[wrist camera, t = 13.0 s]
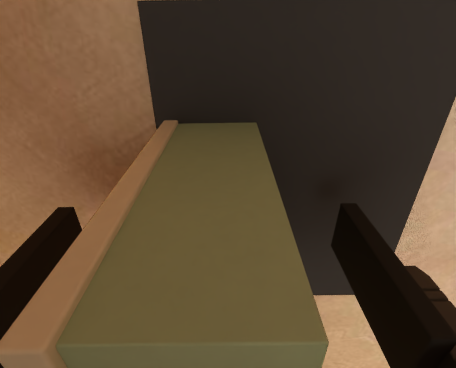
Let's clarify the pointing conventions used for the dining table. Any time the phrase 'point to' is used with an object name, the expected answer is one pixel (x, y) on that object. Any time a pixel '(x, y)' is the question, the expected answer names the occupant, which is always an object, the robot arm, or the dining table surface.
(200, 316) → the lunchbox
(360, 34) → the mat
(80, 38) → the dining table surface
